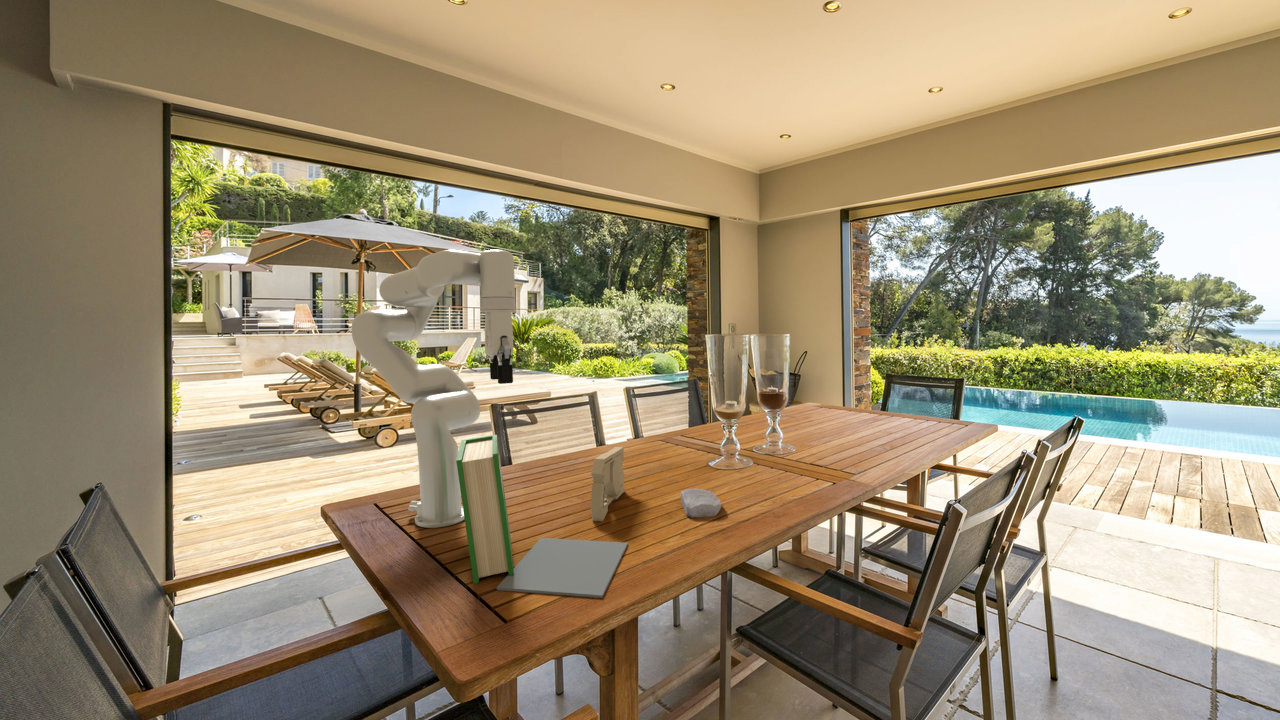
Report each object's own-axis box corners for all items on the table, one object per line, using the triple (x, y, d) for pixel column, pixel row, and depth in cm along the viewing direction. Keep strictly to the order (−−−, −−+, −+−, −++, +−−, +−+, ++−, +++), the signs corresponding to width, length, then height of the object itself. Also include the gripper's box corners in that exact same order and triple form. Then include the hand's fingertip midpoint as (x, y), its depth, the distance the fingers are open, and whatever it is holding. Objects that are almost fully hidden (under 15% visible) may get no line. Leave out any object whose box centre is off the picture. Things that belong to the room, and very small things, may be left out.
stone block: (713, 507, 140) (677, 501, 139) (716, 490, 140) (680, 484, 138) (723, 525, 128) (684, 520, 127) (727, 507, 128) (688, 501, 127)
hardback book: (513, 574, 99) (497, 453, 97) (473, 584, 97) (456, 460, 95) (510, 538, 116) (496, 434, 114) (476, 545, 114) (461, 440, 112)
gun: (602, 523, 125) (602, 461, 125) (589, 522, 126) (589, 461, 126) (625, 498, 149) (625, 446, 149) (614, 498, 150) (613, 446, 150)
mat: (496, 589, 95) (496, 587, 95) (541, 540, 116) (540, 537, 116) (602, 598, 91) (602, 595, 91) (627, 544, 113) (627, 542, 113)
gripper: (475, 307, 123) (478, 378, 124) (487, 304, 107) (490, 386, 109) (507, 307, 126) (510, 376, 127) (523, 304, 111) (526, 383, 112)
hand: (501, 381), depth 118 cm, fingers open, 9 cm apart
